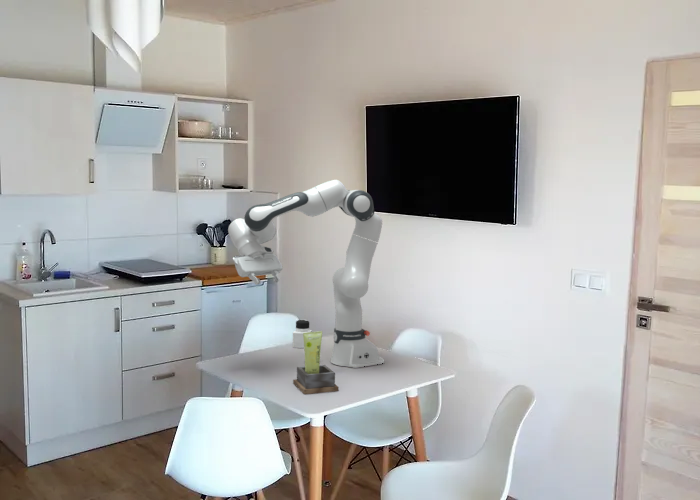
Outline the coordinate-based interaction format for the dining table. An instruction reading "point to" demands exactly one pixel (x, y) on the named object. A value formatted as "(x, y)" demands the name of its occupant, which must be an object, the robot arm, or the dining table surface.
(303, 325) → the medicine bottle
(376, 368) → the dining table surface
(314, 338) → the tube
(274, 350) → the dining table surface
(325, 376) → the holder
